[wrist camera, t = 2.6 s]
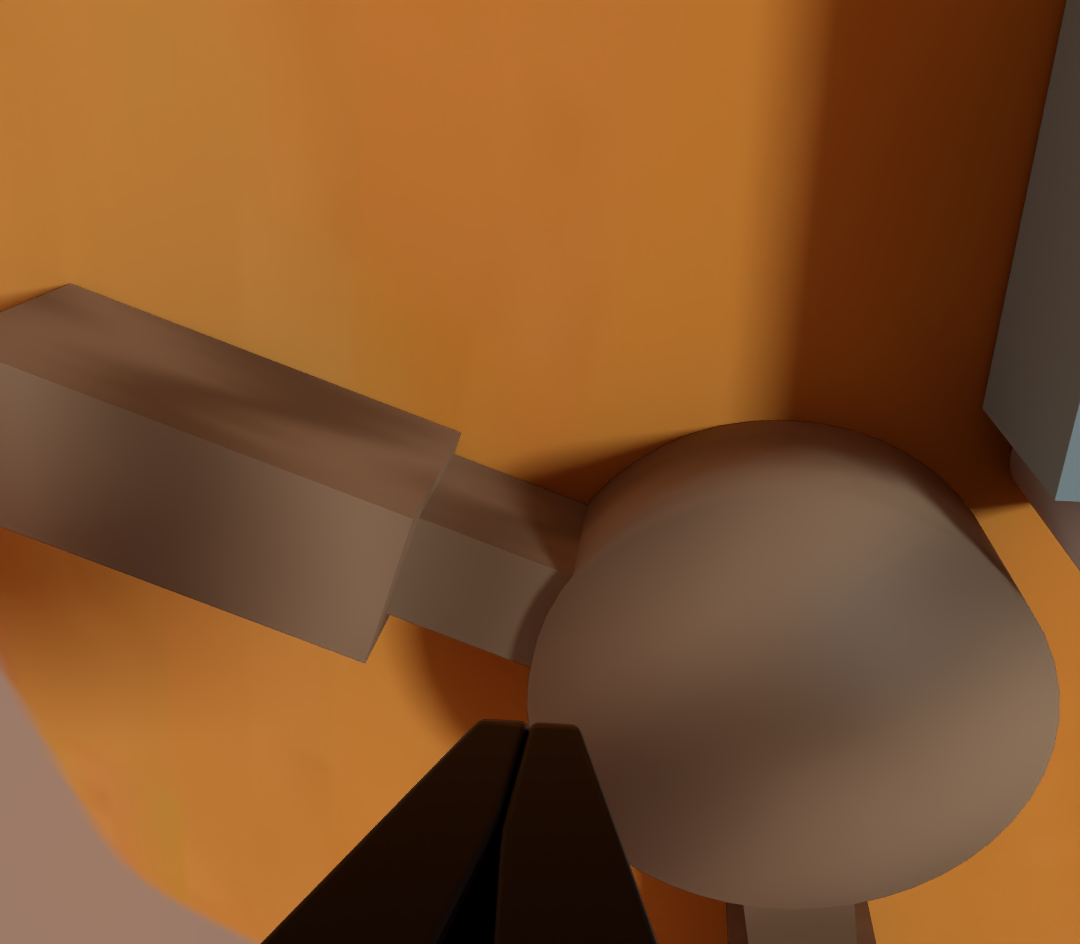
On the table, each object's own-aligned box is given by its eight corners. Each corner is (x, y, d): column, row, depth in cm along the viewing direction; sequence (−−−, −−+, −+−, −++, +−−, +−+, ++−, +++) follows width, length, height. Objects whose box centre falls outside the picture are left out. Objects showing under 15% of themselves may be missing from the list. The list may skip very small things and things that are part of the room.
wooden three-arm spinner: (1286, 973, 23) (1394, 1143, 20) (758, 1132, 29) (768, 1286, 26) (514, -162, 15) (462, -219, 12) (-7, 360, 21) (-148, 428, 18)
